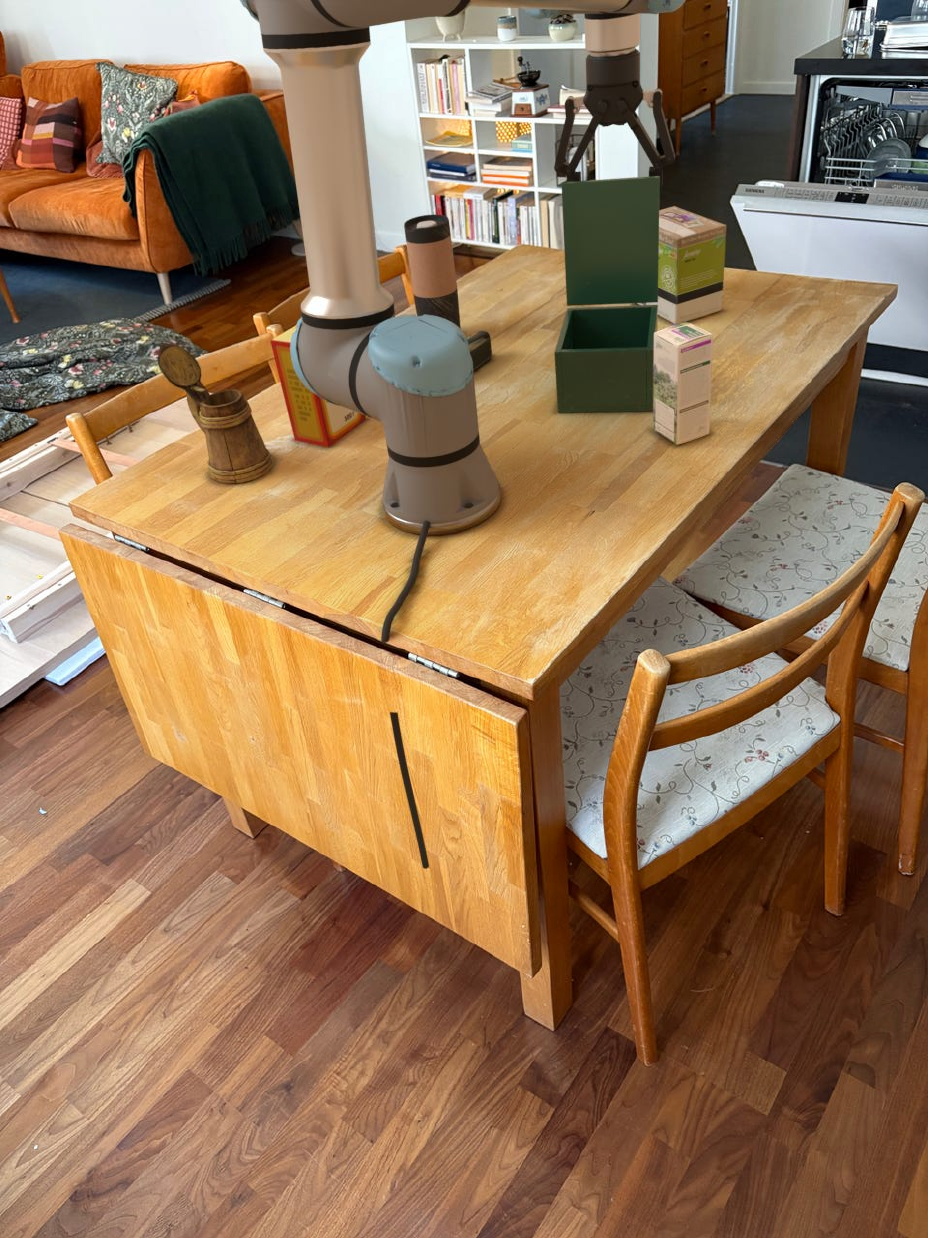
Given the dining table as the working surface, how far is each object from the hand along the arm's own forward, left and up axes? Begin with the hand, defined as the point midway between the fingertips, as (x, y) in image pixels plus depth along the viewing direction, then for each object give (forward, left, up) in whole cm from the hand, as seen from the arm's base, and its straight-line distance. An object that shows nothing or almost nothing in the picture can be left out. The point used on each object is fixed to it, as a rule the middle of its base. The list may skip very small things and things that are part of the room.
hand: (614, 216), depth 146 cm
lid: (-8, 0, -2) cm, 9 cm away
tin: (-16, 0, -20) cm, 26 cm away
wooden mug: (-40, +53, -20) cm, 70 cm away
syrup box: (-32, -11, -20) cm, 39 cm away
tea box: (+16, -9, -20) cm, 27 cm away
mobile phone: (-10, +24, -20) cm, 33 cm away
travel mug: (+4, +31, -20) cm, 37 cm away
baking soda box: (-30, +41, -20) cm, 55 cm away
